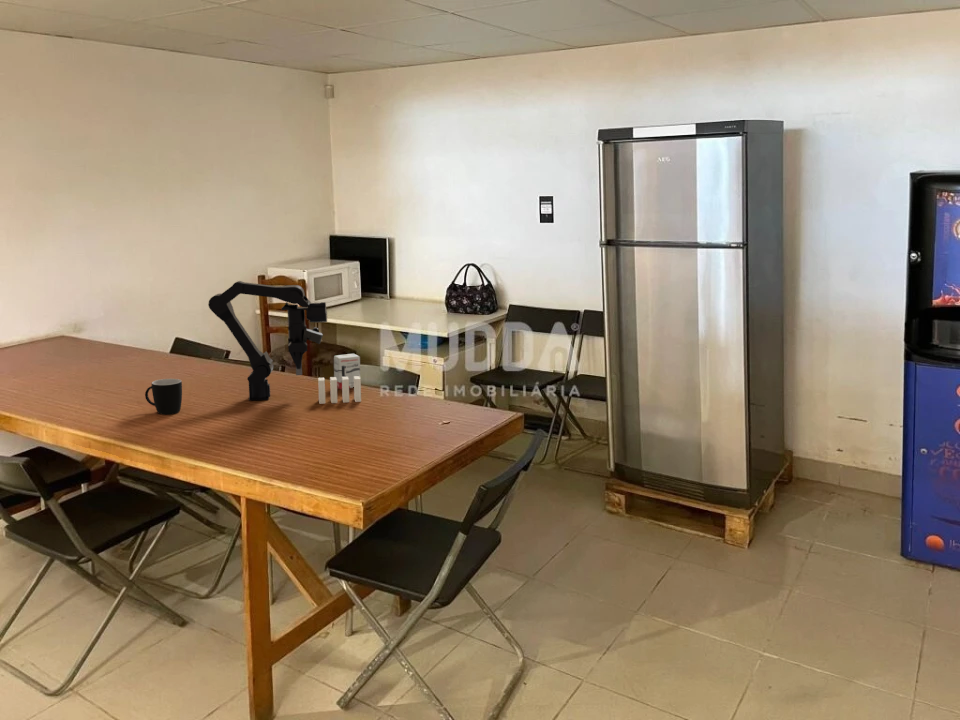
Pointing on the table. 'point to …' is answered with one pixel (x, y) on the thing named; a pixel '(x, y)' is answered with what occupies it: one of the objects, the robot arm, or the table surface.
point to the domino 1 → (299, 370)
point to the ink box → (346, 368)
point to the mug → (166, 395)
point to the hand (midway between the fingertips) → (298, 367)
